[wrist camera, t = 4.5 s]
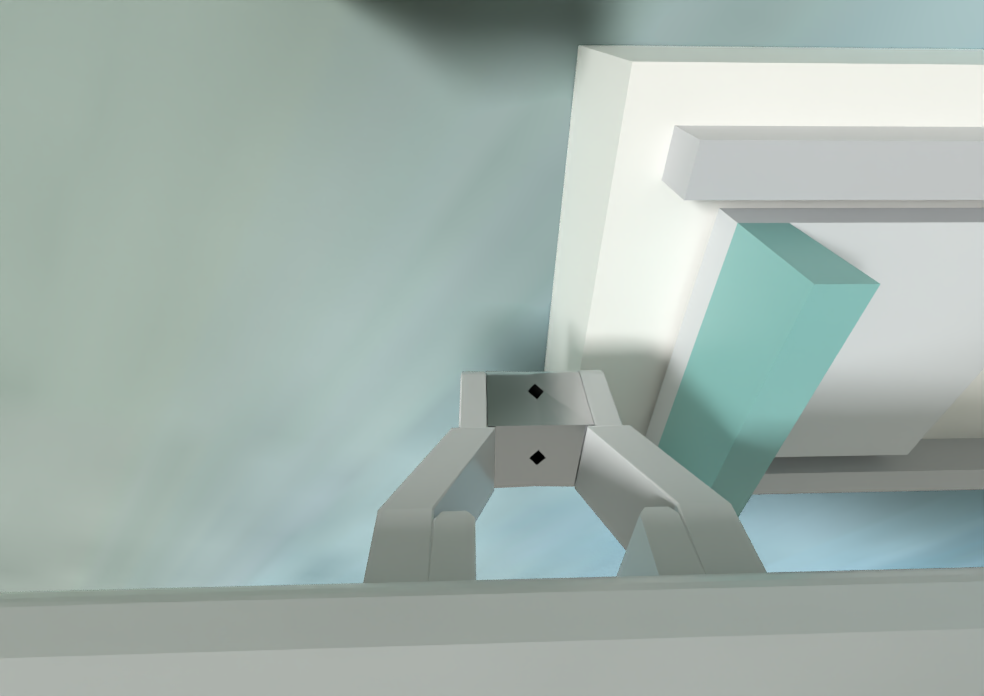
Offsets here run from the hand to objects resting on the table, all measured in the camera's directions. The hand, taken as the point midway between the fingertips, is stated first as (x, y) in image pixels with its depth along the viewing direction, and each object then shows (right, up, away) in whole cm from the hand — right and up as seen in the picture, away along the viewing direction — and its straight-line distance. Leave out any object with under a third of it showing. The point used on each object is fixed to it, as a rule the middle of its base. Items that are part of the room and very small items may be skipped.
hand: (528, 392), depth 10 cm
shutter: (+8, +1, +2) cm, 8 cm away
